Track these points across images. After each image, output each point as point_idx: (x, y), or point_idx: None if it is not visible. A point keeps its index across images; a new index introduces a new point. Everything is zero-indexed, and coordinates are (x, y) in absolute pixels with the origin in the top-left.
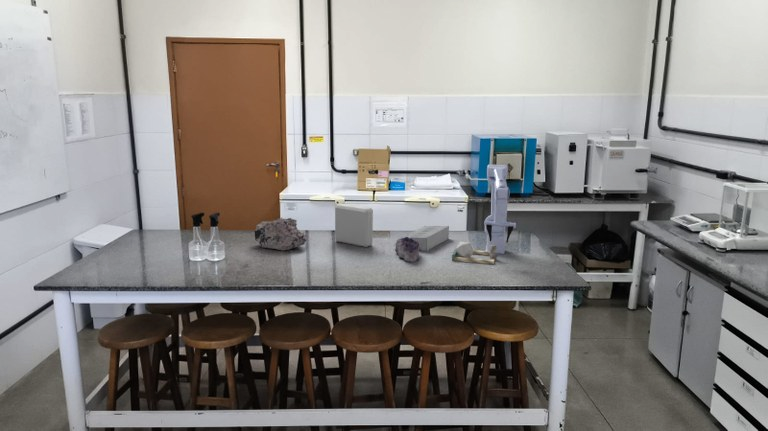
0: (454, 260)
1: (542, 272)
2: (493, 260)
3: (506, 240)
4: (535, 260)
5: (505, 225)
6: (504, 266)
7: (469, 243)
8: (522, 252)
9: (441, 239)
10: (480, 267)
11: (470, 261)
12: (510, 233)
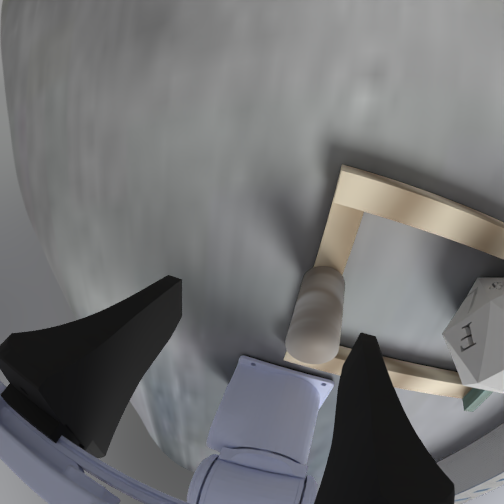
0: None
1: (73, 62)
2: (342, 191)
3: (169, 288)
4: (103, 257)
5: (75, 473)
6: (266, 126)
7: (489, 374)
8: (163, 360)
9: (453, 463)
10: (452, 99)
11: (493, 218)
12: (66, 324)
